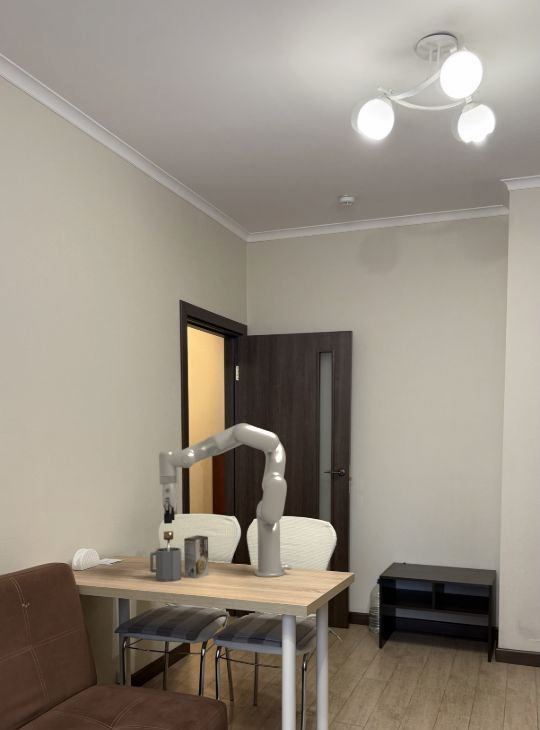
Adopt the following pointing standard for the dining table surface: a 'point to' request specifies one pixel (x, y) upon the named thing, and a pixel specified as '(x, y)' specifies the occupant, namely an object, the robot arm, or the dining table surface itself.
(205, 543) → the coffee box
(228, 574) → the dining table surface
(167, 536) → the plunger
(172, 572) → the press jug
